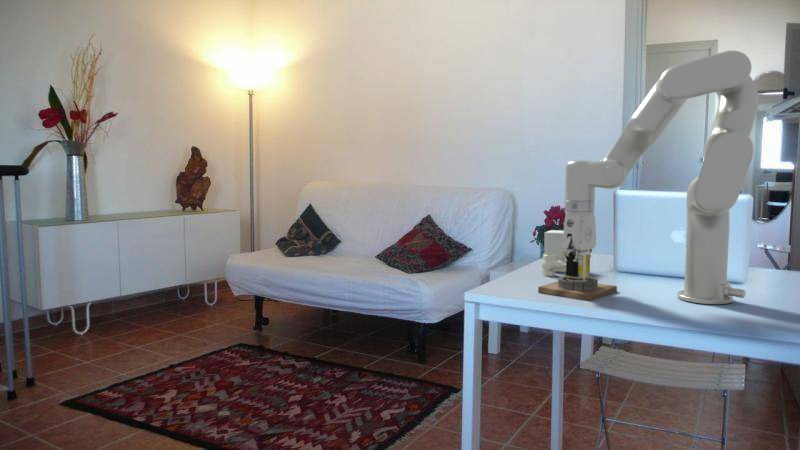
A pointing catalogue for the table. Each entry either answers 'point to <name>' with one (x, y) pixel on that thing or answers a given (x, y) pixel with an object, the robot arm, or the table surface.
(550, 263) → the valve
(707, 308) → the table surface
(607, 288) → the collar plate
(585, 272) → the supplement bottle
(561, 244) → the supplement box
